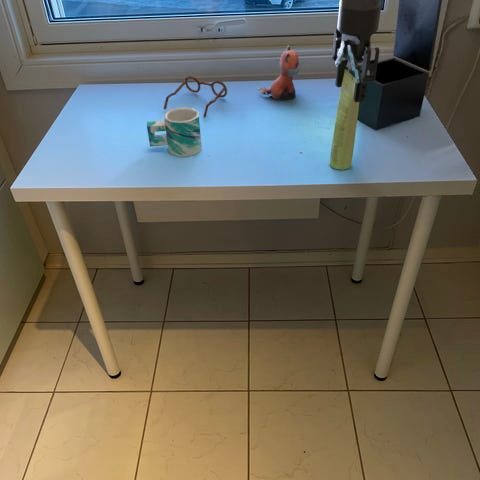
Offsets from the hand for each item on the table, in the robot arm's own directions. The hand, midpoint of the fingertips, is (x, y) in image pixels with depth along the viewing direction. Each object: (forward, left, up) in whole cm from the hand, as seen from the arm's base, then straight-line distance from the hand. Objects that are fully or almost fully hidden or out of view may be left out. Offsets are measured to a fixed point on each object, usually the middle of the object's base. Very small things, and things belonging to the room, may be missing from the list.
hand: (349, 93), depth 106 cm
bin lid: (+21, -28, +3) cm, 35 cm away
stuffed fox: (+41, -1, -16) cm, 44 cm away
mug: (+21, +33, -16) cm, 42 cm away
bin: (+20, -22, -16) cm, 33 cm away
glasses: (+44, +22, -16) cm, 52 cm away
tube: (0, 0, -16) cm, 16 cm away
